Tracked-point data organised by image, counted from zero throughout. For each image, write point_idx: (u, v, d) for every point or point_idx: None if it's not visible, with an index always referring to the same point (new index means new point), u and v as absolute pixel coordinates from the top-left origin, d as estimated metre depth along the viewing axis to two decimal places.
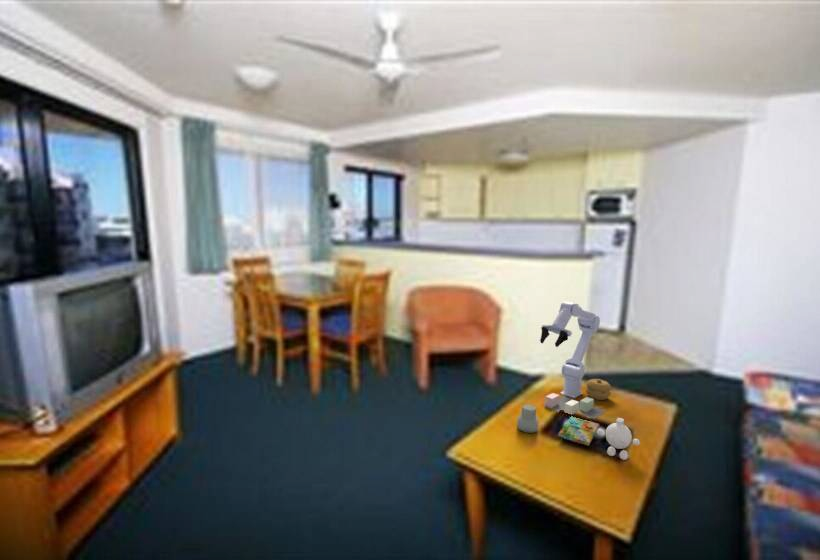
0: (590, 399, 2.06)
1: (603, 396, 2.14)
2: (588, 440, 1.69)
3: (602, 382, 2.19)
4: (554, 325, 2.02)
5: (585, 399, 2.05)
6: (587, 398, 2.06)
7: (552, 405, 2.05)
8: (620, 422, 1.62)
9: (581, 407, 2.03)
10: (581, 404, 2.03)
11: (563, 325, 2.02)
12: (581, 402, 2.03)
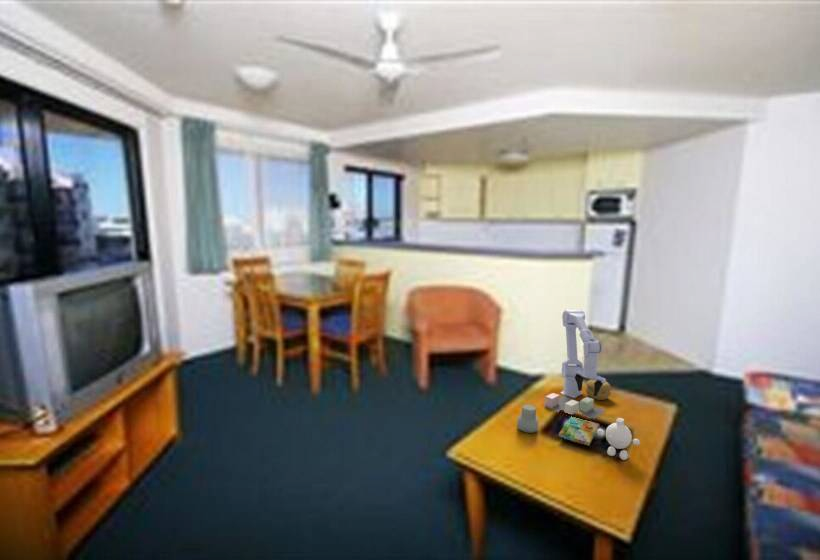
0: (590, 399, 2.06)
1: (603, 396, 2.14)
2: (588, 440, 1.69)
3: None
4: None
5: (585, 399, 2.05)
6: (587, 398, 2.06)
7: (552, 405, 2.05)
8: (620, 422, 1.62)
9: (581, 407, 2.03)
10: (581, 404, 2.03)
11: (594, 372, 2.00)
12: (581, 402, 2.03)
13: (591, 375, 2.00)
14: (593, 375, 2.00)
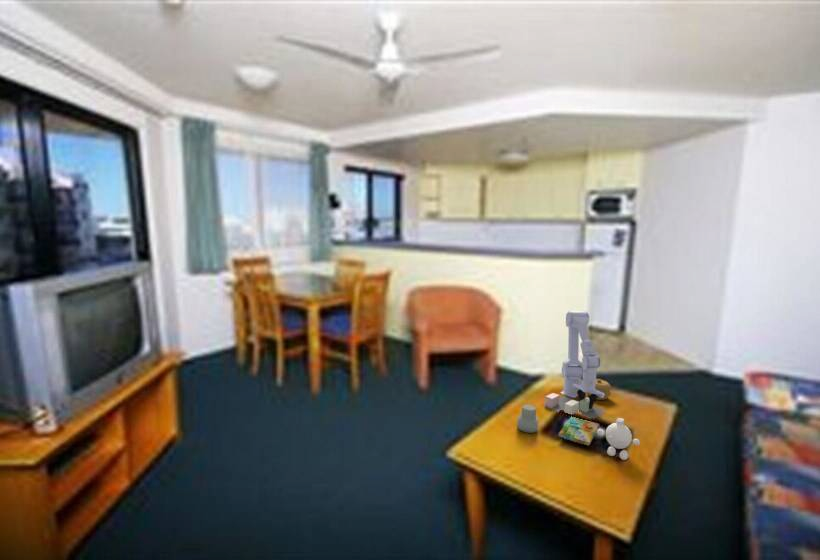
0: None
1: None
2: (588, 440, 1.69)
3: (602, 382, 2.19)
4: (584, 391, 2.01)
5: (585, 399, 2.05)
6: (587, 398, 2.06)
7: (552, 405, 2.05)
8: (620, 422, 1.62)
9: (581, 407, 2.03)
10: (581, 404, 2.03)
11: (593, 386, 2.01)
12: (581, 402, 2.03)
13: (590, 389, 2.01)
14: (592, 389, 2.01)
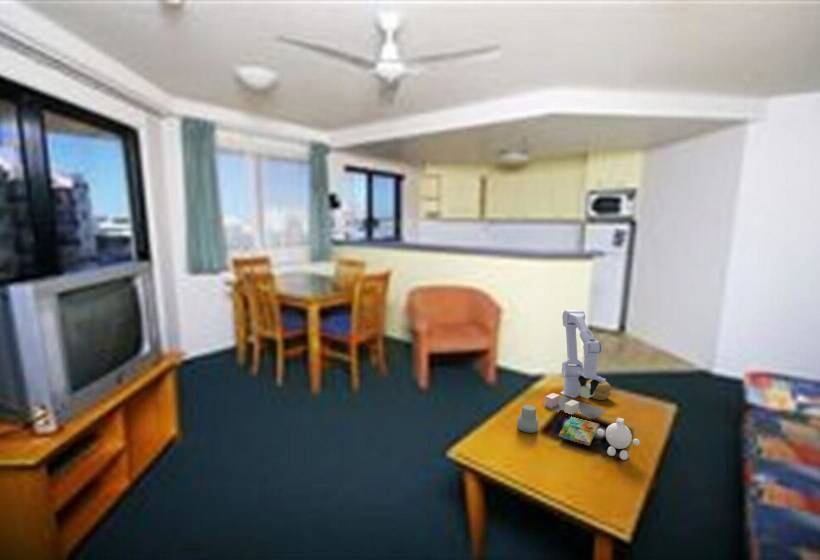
0: None
1: (603, 396, 2.14)
2: (589, 440, 1.68)
3: None
4: (586, 377, 2.00)
5: (586, 385, 2.04)
6: (588, 384, 2.05)
7: (552, 405, 2.05)
8: (620, 422, 1.62)
9: (582, 393, 2.02)
10: (583, 390, 2.02)
11: (594, 372, 2.00)
12: (582, 388, 2.02)
13: (591, 375, 2.00)
14: (593, 375, 2.00)
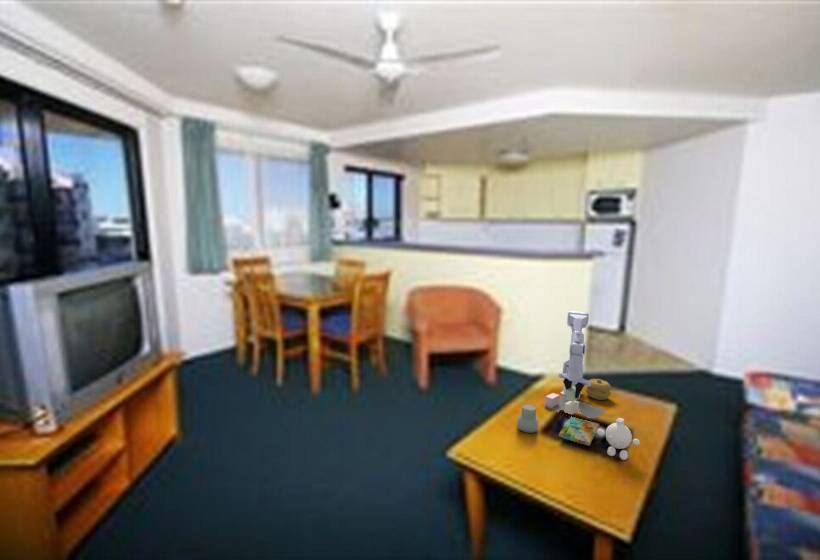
0: None
1: (603, 396, 2.14)
2: (589, 440, 1.68)
3: (602, 382, 2.19)
4: None
5: (571, 388, 2.00)
6: (573, 387, 2.01)
7: (552, 405, 2.05)
8: (620, 422, 1.62)
9: (567, 396, 1.98)
10: (568, 393, 1.98)
11: (579, 375, 1.96)
12: (567, 391, 1.98)
13: (576, 378, 1.96)
14: (578, 378, 1.96)
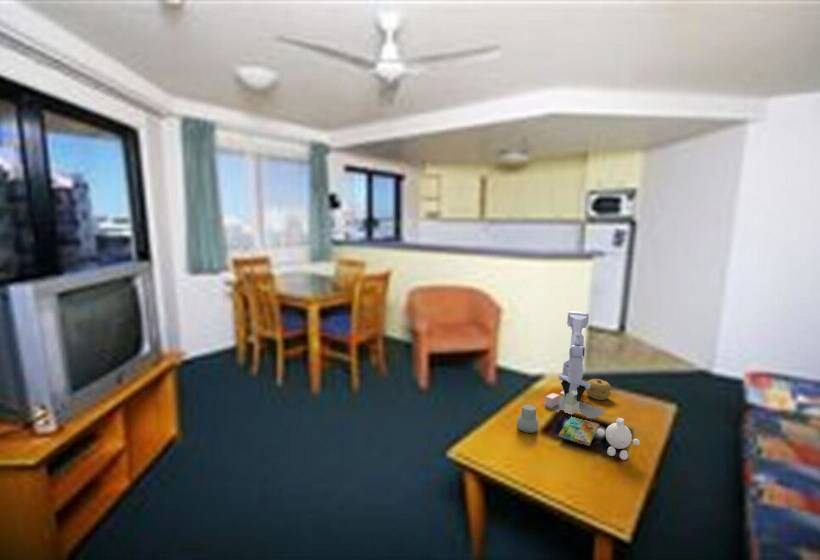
0: (576, 392, 2.01)
1: (603, 396, 2.14)
2: (589, 440, 1.68)
3: (602, 382, 2.19)
4: (570, 382, 1.97)
5: (571, 392, 2.00)
6: (573, 391, 2.02)
7: (552, 405, 2.05)
8: (620, 422, 1.62)
9: (567, 401, 1.99)
10: (567, 397, 1.98)
11: (579, 377, 1.96)
12: (567, 395, 1.99)
13: (576, 380, 1.96)
14: (578, 380, 1.96)
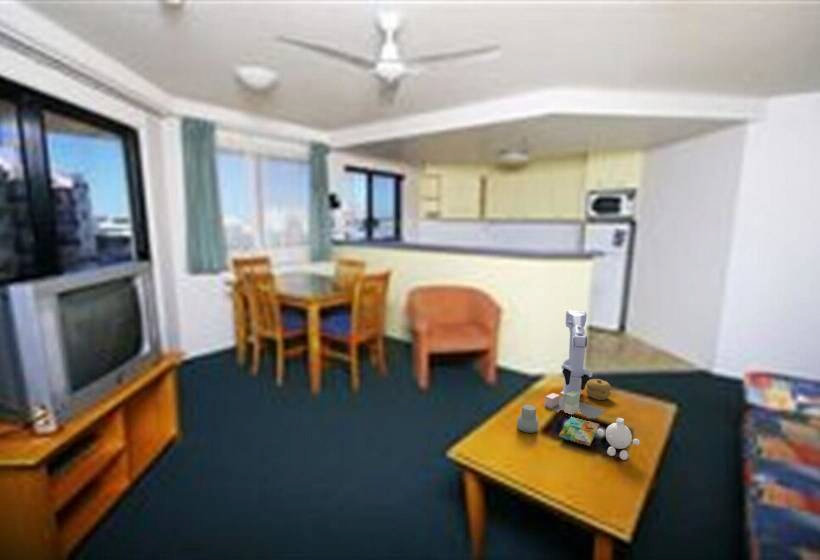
0: (576, 392, 2.01)
1: (603, 396, 2.14)
2: (589, 440, 1.68)
3: (602, 382, 2.19)
4: (573, 371, 2.04)
5: (571, 392, 2.00)
6: (573, 391, 2.02)
7: (552, 405, 2.05)
8: (620, 422, 1.62)
9: (567, 401, 1.99)
10: (567, 397, 1.98)
11: (581, 366, 2.03)
12: (567, 395, 1.99)
13: (578, 369, 2.03)
14: (580, 369, 2.03)
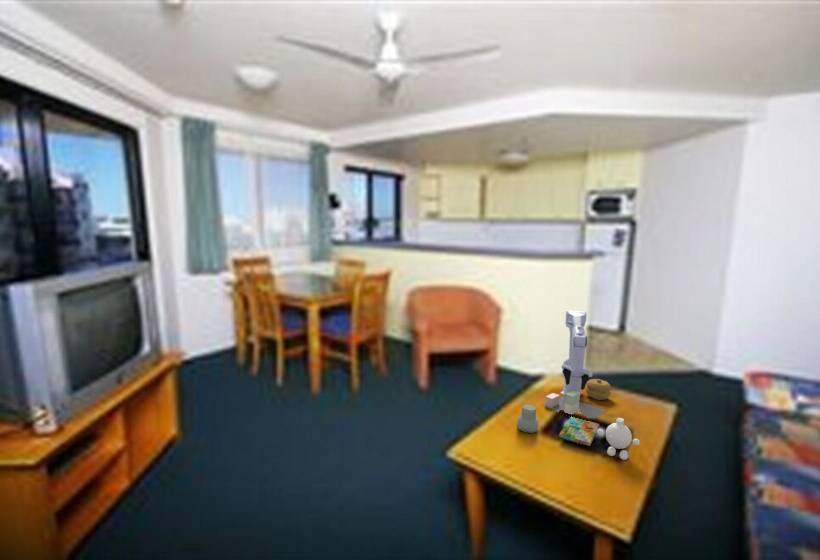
0: (576, 392, 2.01)
1: (603, 396, 2.14)
2: (589, 440, 1.68)
3: (602, 382, 2.19)
4: (573, 371, 2.04)
5: (571, 392, 2.00)
6: (573, 391, 2.02)
7: (552, 405, 2.05)
8: (620, 422, 1.62)
9: (567, 401, 1.99)
10: (567, 397, 1.98)
11: (581, 366, 2.03)
12: (567, 395, 1.99)
13: (578, 369, 2.03)
14: (580, 369, 2.03)
